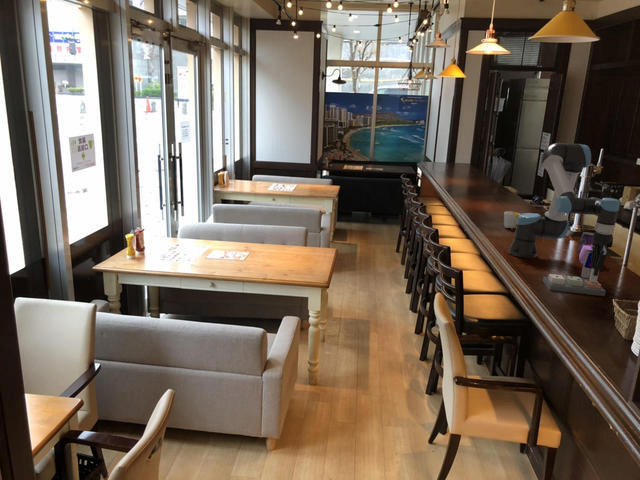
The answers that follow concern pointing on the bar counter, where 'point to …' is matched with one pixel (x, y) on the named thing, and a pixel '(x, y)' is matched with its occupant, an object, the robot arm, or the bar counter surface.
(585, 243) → the beverage can
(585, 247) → the teapot
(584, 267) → the grey blue tall box
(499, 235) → the bar counter surface
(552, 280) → the tile
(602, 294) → the board
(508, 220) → the mug
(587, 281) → the tile
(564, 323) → the bar counter surface
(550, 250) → the bar counter surface
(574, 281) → the tile
